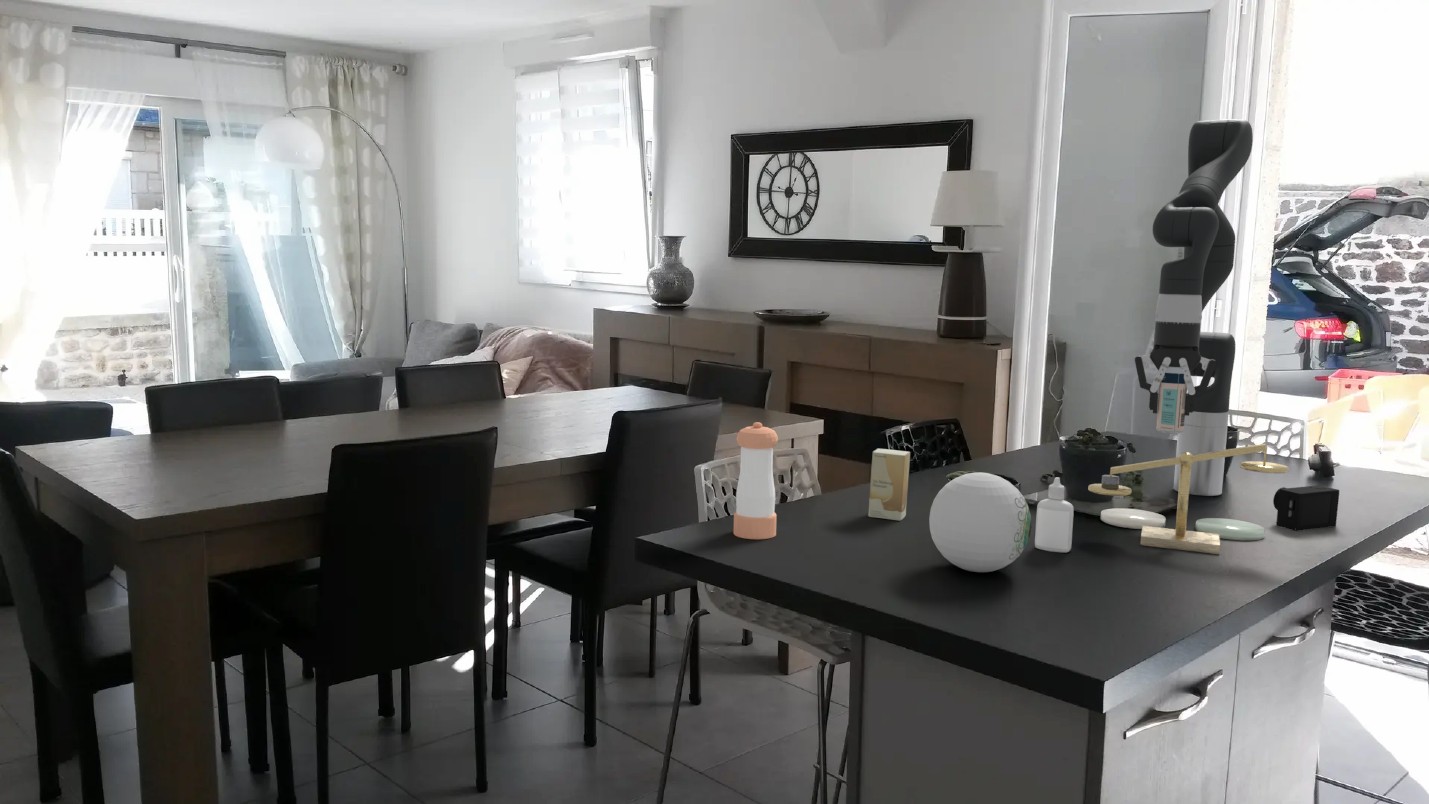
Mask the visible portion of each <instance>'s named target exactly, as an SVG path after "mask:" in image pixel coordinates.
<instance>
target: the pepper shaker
mask: <svg viewBox="0 0 1429 804" xmlns="http://www.w3.org/2000/svg"><path fill="white" fill-rule="evenodd" d="M778 441H779V437H778V434H777V432H776V431H775V430H774V429H772V428H770V427H766V426H763V423H762V422H760V421H759V422H757V421H755V422H753V424H752V426H746V427H743V428H741V429H740V430H739V431H738V432H737V436H736V443H737V445H738V446H740V469H739V477H738V483H737V488H736V492H735V497H736V498H735V499H736V500H735V501H736V502H735V503H736V506H735V508H736V510H735V511H734V512H733V535H734V536H735V537H737V538H741V539H748V540H766V539H768V540H769V539H771V538H774V537H777V516H778V515H777V513H776V512H775V509H776V505H775V504H776V489H775V482H774V481H775V480H774V474H773V471H774V470H773V463H774V461H773V460H774V459H773V458H774V447H776V446H777V444H778Z"/></svg>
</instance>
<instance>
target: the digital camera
mask: <svg viewBox="0 0 1429 804" xmlns="http://www.w3.org/2000/svg"><path fill="white" fill-rule="evenodd" d="M1339 499H1340V489H1337V488H1332V487H1328V486H1322V485H1319V484H1318V485H1307V486H1306V485H1305V486H1297V487H1285V486H1283V487H1280V488H1278V489H1277V491H1275V494H1274V495H1273V500H1272V501H1273V502H1272V503H1273V506H1274V509H1275V510H1277V512H1276V513H1277V514H1276V522H1275V523H1276V525H1275V526H1276V527H1279V528H1284V529H1287V530H1291V531H1295V532H1299V531H1300V532H1302V531H1310V530H1317V529H1325V528H1326V529H1327V528H1334V527H1335V528H1336V526H1337V520H1338V510H1339V509H1338V508H1339Z"/></svg>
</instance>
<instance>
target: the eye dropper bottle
mask: <svg viewBox="0 0 1429 804" xmlns="http://www.w3.org/2000/svg"><path fill="white" fill-rule="evenodd" d="M1060 479H1061V478H1060V477H1055V478H1054V480H1053V483H1051V484H1049V485H1048V495H1047V498H1045V499H1042V500H1040V501H1039V502H1038V503H1037V506H1036V518H1035V532H1034V533H1035V534H1034V535H1035V536H1034V547H1035V548H1036V549H1037V550H1041V551H1045V552H1052V553H1062V554H1063V553H1066V554H1067V553H1068V552H1070V551H1071V550H1072V542H1073V525H1074V509H1075V508H1074V506H1073V504H1072V503H1070V502H1069V501H1067V500H1064V499H1065V486H1064V485H1062V483H1061V480H1060Z"/></svg>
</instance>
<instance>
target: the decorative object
mask: <svg viewBox="0 0 1429 804" xmlns="http://www.w3.org/2000/svg"><path fill="white" fill-rule="evenodd" d="M928 522H929V532H930V536H931V539H932V540H933V543H934V545H935V546H936V547H935V548H937V550H938V551H939V552H940V554H941V555H942V557H944V558H945V559H946V560H947V561H949V563H951V564H952V565H954V566H956V567H957V568H960V569H962V570H965V571H968V572H975V573H989V572H994V571H997V570H998V571H999V570H1000V569H1004V568H1005V567H1007V566H1008V565H1010V564H1012V563H1013V562H1014V561H1016V560H1017V558H1018V557H1020V556H1021V554H1022V552H1024V550H1025V548H1026V546H1027V545H1028V543H1029V539H1030V537H1031V531H1032V516H1031V512H1030V508H1029V505H1028V503H1027V501H1026V499H1025V497H1024V495H1023V494H1022V493H1021V492H1020V490H1019V489H1018V488H1017V487H1016V486H1015V485H1014V484H1012V483H1011V482H1010V481H1009V480H1007V479H1004V478H1003V477H1001V476H1000V475H999V476H998V475H996V474H993V473H989V472H981V471H980V472H970V473H965V474H962V475H960V476H957V477H955V478H953V479H952V480H950V481H949V482H947V483H946V484H945V485H944V486H943V487H942V488H941V489H940V490H939V491H938V493H937V494H936V496H935V497H934V499H933V502H932V504H931V506H930V512H929V519H928Z"/></svg>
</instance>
